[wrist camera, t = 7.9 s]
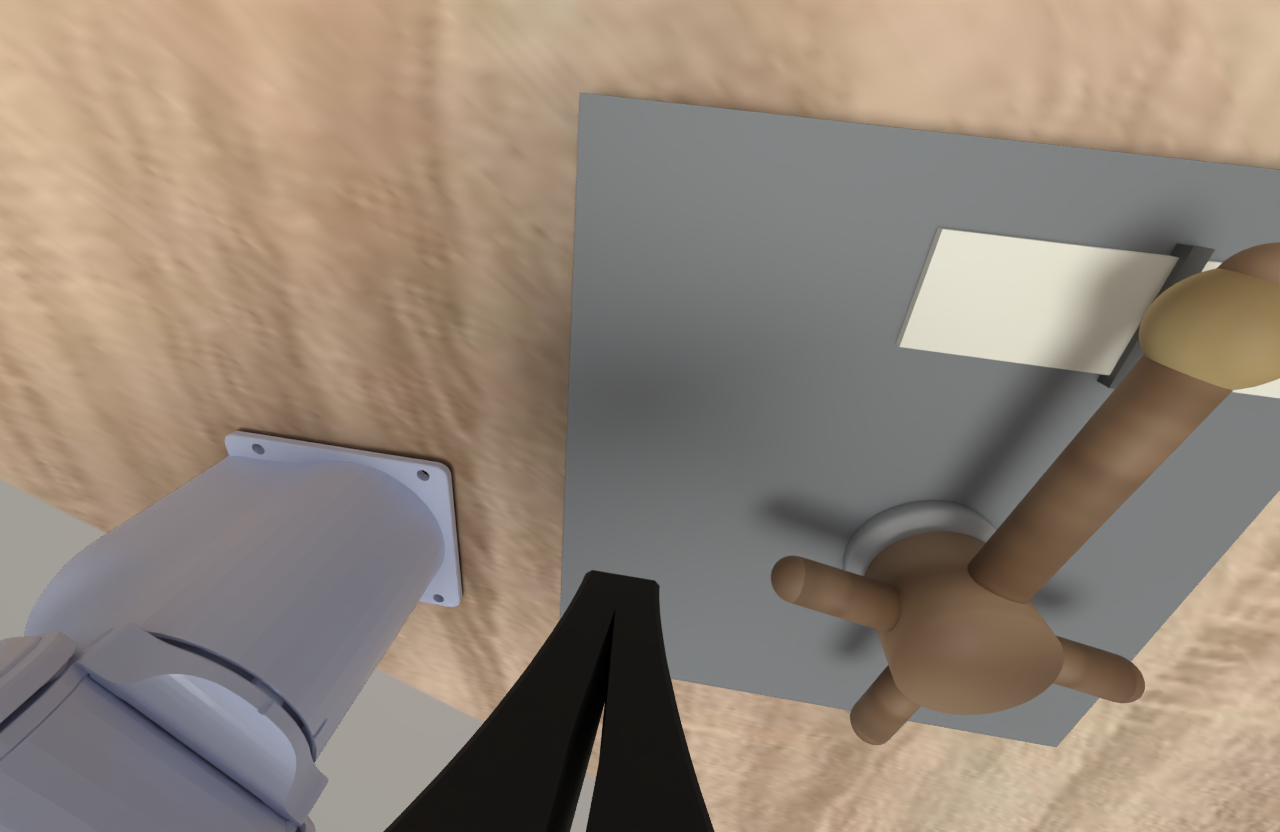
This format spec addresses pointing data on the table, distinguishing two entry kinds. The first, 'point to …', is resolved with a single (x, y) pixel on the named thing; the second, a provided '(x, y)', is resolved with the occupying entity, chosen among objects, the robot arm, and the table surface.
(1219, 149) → the table surface
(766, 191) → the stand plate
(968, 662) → the capstan dial
